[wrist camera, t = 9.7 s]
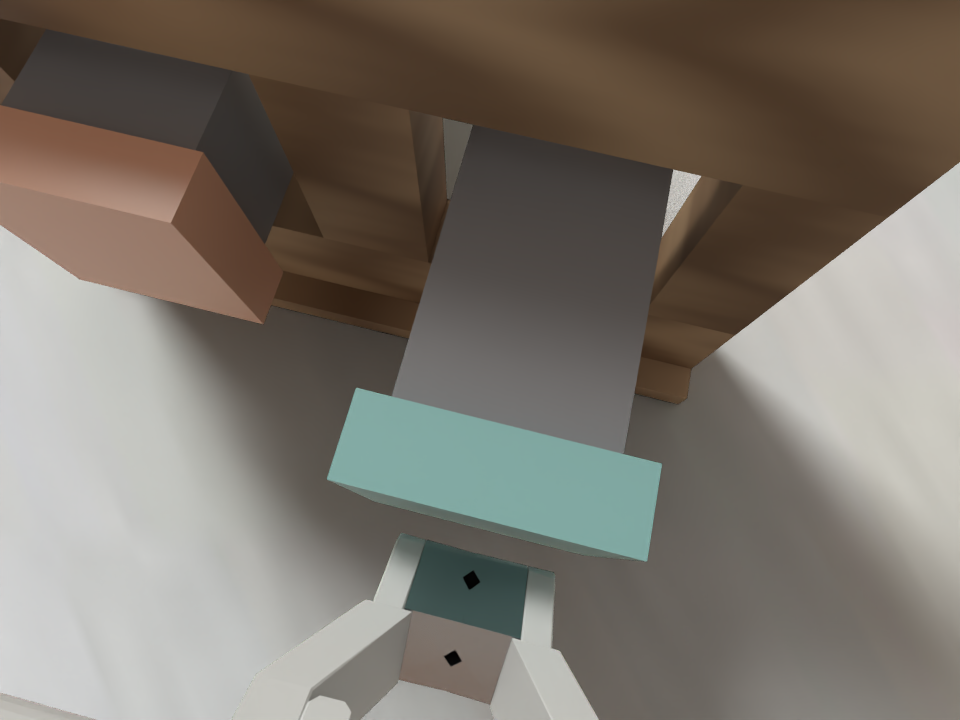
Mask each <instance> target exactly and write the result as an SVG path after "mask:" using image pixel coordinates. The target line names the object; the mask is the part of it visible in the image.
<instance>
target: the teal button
mask: <svg viewBox="0 0 960 720" xmlns="http://www.w3.org/2000/svg"><path fill="white" fill-rule="evenodd" d="M672 173H673V169H669V168H665V167H660V166H656V165H651V164H647V163H643V162H638V161H634V160H629V159H625V158H620V157H616V156H611V155H607V154H602V153H598V152H593V151H589V150H585V149H580V148H576V147H571V146H567V145H562V144H558V143H553V142H549V141H544V140H540V139H535V138H531V137H527V136H522V135H518V134H513V133H509V132H504V131H500V130H495V129H491V128H486V127H482V126H478V125H473V127H472V130H471V134H470V137H469V140H468V143H467V147H466V150H465V153H464V157H463V160H462V163H461V167H460V170H459V173H458V177H457V180H456V183H455V187H454V190H453V193H452V197H451V200H450V203H449V207H448V210H447V213H446V217H445V220H444V223H443V227H442V230H441V233H440V237H439V240H438V243H437V247H436V250H435V253H434V257H433V260H432V263H431V267H430V270H429V273H428V277H427V280H426V283H425V287H424V290H423V293H422V297H421V300H420V303H419V306H418V310H417V313H416V316H415V320H414V323H413V326H412V330H411V333H410V336H409V340H408V343H407V346H406V350H405V353H404V356H403V360H402V363H401V366H400V370H399V373H398V376H397V380H396V383H395V386H394V390H393V393H392V396H388V395H384V394H380V393H376V392H372V391H368V390H364V389H360V388H356V389H355V393H354V396H353V399H352V402H351V405H350V408H349V411H348V414H347V418H346V421H345V424H344V427H343V430H342V433H341V436H340V439H339V442H338V446H337V449H336V452H335V455H334V458H333V461H332V464H331V467H330V471H329V474H328V477H327V480H329V481H331V482H333V483H335V484H338V485H340V486H342V487H344V488H346V489H348V490H350V491H353V492H355V493H357V494H359V495H361V496H363V497H365V498H368V499H370V500H372V501H374V502H378V503H382V504H386V505H390V506H393V507H397V508H401V509H405V510H409V511H413V512H417V513H421V514H425V515H428V516H432V517H436V518H440V519H444V520H448V521H452V522H456V523H459V524H463V525H467V526H471V527H475V528H479V529H483V530H487V531H491V532H494V533H498V534H502V535H506V536H510V537H514V538H518V539H522V540H525V541H529V542H533V543H537V544H541V545H545V546H549V547H553V548H557V549H560V550H564V551H568V552H572V553H576V554H580V555H585V556H595V557H605V558H615V559H625V560H635V561H646V562H647V559H648V552H649V546H650V539H651V533H652V526H653V520H654V513H655V507H656V500H657V494H658V487H659V481H660V474H661V468H662V464H661V463H657V462H653V461H649V460H645V459H641V458H637V457H633V456H629V455H625V454H624V450H625V444H626V438H627V433H628V427H629V421H630V415H631V409H632V404H633V398H634V392H635V386H636V381H637V375H638V369H639V363H640V358H641V352H642V346H643V340H644V335H645V329H646V323H647V317H648V312H649V306H650V300H651V294H652V289H653V283H654V277H655V271H656V265H657V260H658V254H659V248H660V242H661V237H662V231H663V225H664V219H665V214H666V208H667V202H668V196H669V191H670V185H671V179H672Z"/></svg>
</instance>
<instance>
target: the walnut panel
mask: <svg viewBox="0 0 960 720" xmlns="http://www.w3.org/2000/svg"><path fill="white" fill-rule="evenodd" d="M46 29H49V30H54V31H58V32H63V33H67V34H72V35H76V36H80V37H85V38H89V39H94V40H98V41H103V42H107V43H112V44H116V45H121V46H125V47H130V48H134V49H138V50H143V51H147V52H152V53H156V54H161V55H165V56H170V57H174V58H179V59H183V60H188V61H192V62H196V63H201V64H205V65H210V66H214V67H219V68H223V69H228V70H232V71H237V72H241V73H246V74H249V77H250V79H251V81H252V83H253V85H254V87H255V90H256V92H257V94H258V96H259V98H260V100H261V103H262V105H263V107H264V109H265V111H266V114H267V116H268V118H269V120H270V122H271V124H272V127H273V129H274V131H275V133H276V135H277V137H278V140H279V142H280V144H281V146H282V148H283V150H284V153H285V155H286V157H287V159H288V161H289V164H290V166H291V168H292V170H293V172H294V173H293V175H292V178H291V180H290V183H289V185H288V188H287V190H286V193H285V195H284V198H283V200H282V203H281V205H280V208H279V210H278V213H277V215H276V218H275V220H274V223H273V226H272V228H271V231H270V233H269V236H268V238H267V241H266V243H265V245H266V247H267V248H268V250H269V251H270V253H271V254H272V256H273V257H274V259H275V260H276V262H277V263H278V265H279V266H280V268H281V269H282V271H283V275H282V278H281V280H280V283H279V285H278V288H277V291H276V293H275V296H274V299H273V301H272V304H271V305H273V306H277V307H281V308H285V309H289V310H293V311H297V312H302V313H306V314H310V315H314V316H318V317H322V318H326V319H330V320H334V321H339V322H343V323H347V324H351V325H355V326H359V327H363V328H367V329H371V330H376V331H380V332H384V333H388V334H392V335H396V336H400V337H404V338H408V339H409V336H410V333H411V330H412V326H413V323H414V320H415V316H416V313H417V310H418V306H419V303H420V300H421V297H422V293H423V290H424V287H425V283H426V280H427V277H428V273H429V270H430V267H431V263H432V260H433V257H434V253H435V250H436V247H437V243H438V240H439V237H440V233H441V230H442V227H443V223H444V220H445V217H446V213H447V210H448V207H449V203H450V200H449V199H447V191H446V171H445V152H444V132H443V118H446V119H451V120H455V121H460V122H464V123H469V124H473V125H478V126H482V127H486V128H491V129H495V130H500V131H504V132H509V133H513V134H518V135H522V136H527V137H531V138H535V139H540V140H544V141H549V142H553V143H558V144H562V145H567V146H571V147H576V148H580V149H585V150H589V151H593V152H598V153H602V154H607V155H611V156H616V157H620V158H625V159H629V160H634V161H638V162H643V163H647V164H651V165H656V166H660V167H665V168H669V169H674V170H678V171H683V172H687V173H692V174H696V175H701V178H700V179H699V181H698V182H697V184H696V186H695V187H694V189H693V190H692V192H691V193H690V195H689V196H688V198H687V199H686V201H685V203H684V204H683V206H682V207H681V209H680V210H679V212H678V213H677V215H676V217H675V218H674V220H673V221H672V223H671V224H670V226H669V227H668V229H667V230H666V232H665V234H664V235H663V237H662V238H661V242H660V248H659V254H658V260H657V265H656V271H655V277H654V283H653V289H652V294H651V300H650V306H649V312H648V317H647V323H646V329H645V335H644V340H643V346H642V352H641V358H640V363H639V369H638V375H637V381H636V386H635V392H634V393H635V394H639V395H643V396H647V397H651V398H655V399H659V400H663V401H667V402H672V403H676V404H679V403H681V402H682V401H684V400H685V399H687V395H688V388H689V381H690V375H691V369H692V368H693V367H694V366H696V365H697V364H698V363H700V362H701V361H702V360H703V359H705V358H706V357H707V356H709V355H710V354H711V353H713V352H714V351H715V350H716V349H718V348H719V347H720V346H722V345H723V344H724V343H726V342H727V341H728V340H729V339H731V338H732V337H733V336H735V335H736V334H737V333H739V332H740V331H741V330H742V329H744V328H745V327H746V326H748V325H749V324H750V323H751V322H753V321H754V320H755V319H757V318H758V317H759V316H761V315H762V314H763V313H764V312H766V311H767V310H768V309H770V308H771V307H772V306H774V305H775V304H776V303H777V302H779V301H780V300H781V299H783V298H784V297H785V296H787V295H788V294H789V293H790V292H792V291H793V290H794V289H796V288H797V287H798V286H800V285H801V284H802V283H803V282H805V281H806V280H807V279H809V278H810V277H811V276H813V275H814V274H815V273H816V272H818V271H819V270H820V269H822V268H823V267H824V266H825V265H827V264H828V263H829V262H831V261H832V260H833V259H835V258H836V257H837V256H838V255H840V254H841V253H842V252H844V251H845V250H846V249H848V248H849V247H850V246H851V245H853V244H854V243H855V242H857V241H858V240H859V239H861V238H862V237H863V236H864V235H866V234H867V233H868V232H870V231H871V230H872V229H874V228H875V227H876V226H877V225H879V224H880V223H881V222H883V221H884V220H885V219H886V218H888V217H889V216H890V215H892V214H893V213H894V212H896V211H897V210H898V209H899V208H901V207H902V206H903V205H905V204H906V203H907V202H909V201H910V200H911V199H912V198H914V197H915V196H916V195H918V194H919V193H920V192H922V191H923V190H924V189H925V188H927V187H928V186H929V185H931V184H932V183H933V182H935V181H936V180H937V179H938V178H940V177H941V176H942V175H944V174H945V173H946V172H948V171H949V170H950V169H951V168H953V167H954V166H955V165H957V164H958V163H959V162H960V0H0V105H1V104H2V102H3V101H4V99H5V97H6V95H7V94H8V92H9V90H10V89H11V87H12V85H13V84H14V82H15V80H16V79H17V77H18V75H19V74H20V72H21V70H22V69H23V67H24V65H25V64H26V62H27V60H28V59H29V57H30V55H31V54H32V52H33V50H34V49H35V47H36V45H37V44H38V42H39V40H40V38H41V37H42V35H43V33H44V32H45V30H46Z"/></svg>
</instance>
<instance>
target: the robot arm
mask: <svg viewBox="0 0 960 720" xmlns="http://www.w3.org/2000/svg"><path fill="white" fill-rule="evenodd" d="M555 578H556V577H555V574H554V572H550V571H546V570H542V569H538V568H534V567H530V566H528V567H527V566H526V565H522V564H518V563H514V562H510V561H506V560H502V559H498V558H494V557H489V556H485V555H481V554H475V553H472V552H468V551H465V550H461V549H458V548H454V547H451V546H447V545H444V544H440V543H437V542H433V541H430V540H427V541H426V540H424V539H421V538H417V537H414V536H411V535H407V534H404V533H401V534H400V535H399V537H398V538H397V540H396V543H395V546H394V548H393V551H392V553H391V556H390V559H389V561H388V564H387V566H386V569H385V571H384V574H383V577H382V579H381V582H380V584H379V587H378V589H377V592H376V595H375V597H374V600H373V601H371V600H367V599H365V600H363V601H362V602H360V603H359V604H358V605H356V606H355V607H353V608H352V609H350V610H349V611H347V612H346V613H344V614H343V615H342V616H340V617H339V618H337V619H336V620H334V621H333V622H331V623H330V624H328V625H327V626H326V627H324V628H323V629H321V630H320V631H318V632H317V633H315V634H314V635H312V636H311V637H309V638H308V639H307V640H305V641H304V642H302V643H301V644H299V645H298V646H296V647H295V648H293V649H292V650H291V651H289V652H288V653H286V654H285V655H283V656H282V657H280V658H279V659H277V660H276V661H274V662H273V663H272V664H270V665H269V666H267V667H266V668H264V669H263V670H261V671H260V672H258V673H257V674H256V675H255V676H254V678H253V680H252V682H251V684H250V686H249V688H248V689H247V691H246V693H245V695H244V697H243V699H242V701H241V702H240V704H239V706H238V708H237V710H236V712H235V714H234V715H233V717H232V719H231V720H360V719H361V718H362V717H364V716H365V715H366V714H367V713H368V712H369V711H370V710H371V709H372V708H373V707H374V706H375V705H376V704H377V703H378V702H379V701H380V700H381V699H382V698H383V697H384V696H385V695H386V694H387V693H388V692H389V691H390V690H391V689H392V688H393V687H394V686H395V685H396V684H397V683H398V680H402V681H406V682H410V683H415V684H419V685H423V686H427V687H431V688H435V689H440V690H444V691H447V692H450V693H454V694H457V695H460V696H464V697H467V698H470V699H474V700H477V701H480V702H484V703H487V704H490V709H491V712H492V715H493V718H494V720H599V719H598V717H597V715H596V713H595V712H594V710H593V708H592V706H591V705H590V703H589V701H588V699H587V697H586V696H585V694H584V692H583V690H582V689H581V687H580V685H579V683H578V682H577V680H576V678H575V676H574V674H573V673H572V671H571V669H570V667H569V666H568V664H567V662H566V660H565V659H564V657H563V655H562V653H561V652H560V651H559V650H555V649H552V642H553V621H554V599H555ZM0 720H95V719H92V718H88V717H85V716H81V715H78V714H74V713H71V712H67V711H63V710H60V709H56V708H53V707H49V706H46V705H42V704H39V703H35V702H32V701H28V700H25V699H21V698H17V697H14V696H10V695H7V694H3V693H0Z"/></svg>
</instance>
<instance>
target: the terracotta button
mask: <svg viewBox="0 0 960 720" xmlns="http://www.w3.org/2000/svg"><path fill="white" fill-rule="evenodd" d="M293 173H294V172H293V170H292V168H291V166H290V164H289V161H288V159H287V157H286V155H285V153H284V150H283V148H282V146H281V144H280V142H279V140H278V137H277V135H276V133H275V131H274V129H273V127H272V124H271V122H270V120H269V118H268V116H267V114H266V111H265V109H264V107H263V105H262V103H261V100H260V98H259V96H258V94H257V92H256V90H255V87H254V85H253V83H252V81H251V79H250V77H249V74H246V73H241V72H237V71H232V70H228V69H223V68H219V67H214V66H210V65H205V64H201V63H196V62H192V61H188V60H183V59H179V58H174V57H170V56H165V55H161V54H156V53H152V52H147V51H143V50H138V49H134V48H130V47H125V46H121V45H116V44H112V43H107V42H103V41H98V40H94V39H89V38H85V37H80V36H76V35H72V34H67V33H63V32H58V31H54V30H49V29H46V30H45V32H44V33H43V35H42V37H41V38H40V40H39V42H38V44H37V45H36V47H35V49H34V50H33V52H32V54H31V55H30V57H29V59H28V60H27V62H26V64H25V65H24V67H23V69H22V70H21V72H20V74H19V75H18V77H17V79H16V80H15V82H14V84H13V85H12V87H11V89H10V90H9V92H8V94H7V95H6V97H5V99H4V101H3V102H2V104H1V105H0V225H1V226H3V227H4V228H6V229H7V230H9V231H10V232H12V233H13V234H14V235H16V236H17V237H19V238H20V239H22V240H23V241H25V242H26V243H28V244H29V245H30V246H32V247H33V248H35V249H36V250H38V251H39V252H41V253H42V254H44V255H45V256H46V257H48V258H49V259H51V260H52V261H54V262H55V263H57V264H58V265H60V266H61V267H62V268H64V269H65V270H67V271H68V272H70V273H71V274H73V275H74V276H76V277H77V278H78V279H81V280H85V281H89V282H93V283H97V284H101V285H105V286H109V287H113V288H117V289H121V290H126V291H130V292H134V293H138V294H142V295H146V296H150V297H154V298H158V299H162V300H166V301H170V302H174V303H179V304H183V305H187V306H191V307H195V308H199V309H203V310H207V311H211V312H215V313H219V314H223V315H228V316H232V317H236V318H240V319H244V320H248V321H252V322H256V323H260V324H264V322H265V320H266V317H267V314H268V312H269V309H270V306H271V304H272V301H273V299H274V296H275V293H276V291H277V288H278V285H279V283H280V280H281V278H282V275H283V271H282V269H281V268H280V266H279V265H278V263H277V262H276V260H275V259H274V257H273V256H272V254H271V253H270V251H269V250H268V248H267V247H266V245H265V243H266V241H267V238H268V236H269V233H270V231H271V228H272V226H273V223H274V220H275V218H276V215H277V213H278V210H279V208H280V205H281V203H282V200H283V198H284V195H285V193H286V190H287V188H288V185H289V183H290V180H291V178H292V175H293Z"/></svg>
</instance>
